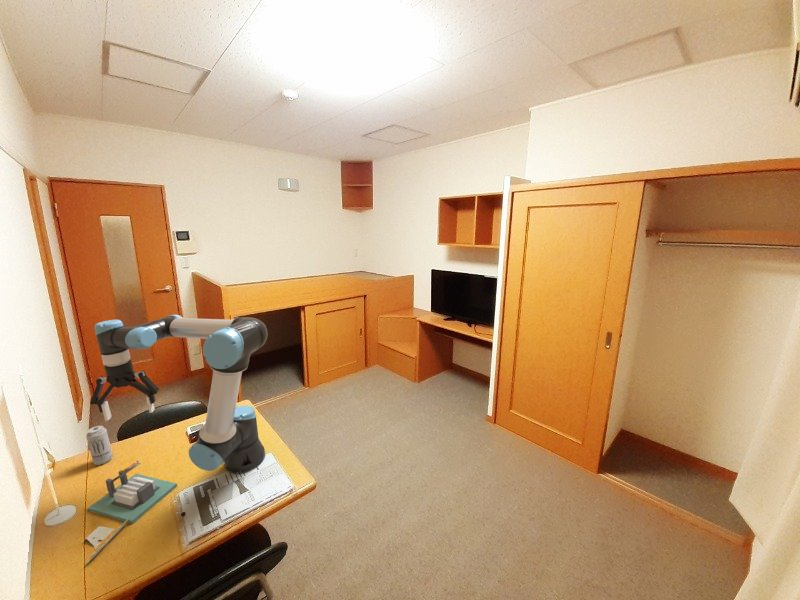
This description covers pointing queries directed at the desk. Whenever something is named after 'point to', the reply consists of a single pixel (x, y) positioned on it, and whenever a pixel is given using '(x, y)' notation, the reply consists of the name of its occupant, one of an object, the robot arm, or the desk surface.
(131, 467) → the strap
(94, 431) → the energy drink can
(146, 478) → the socket board
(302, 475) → the desk surface
